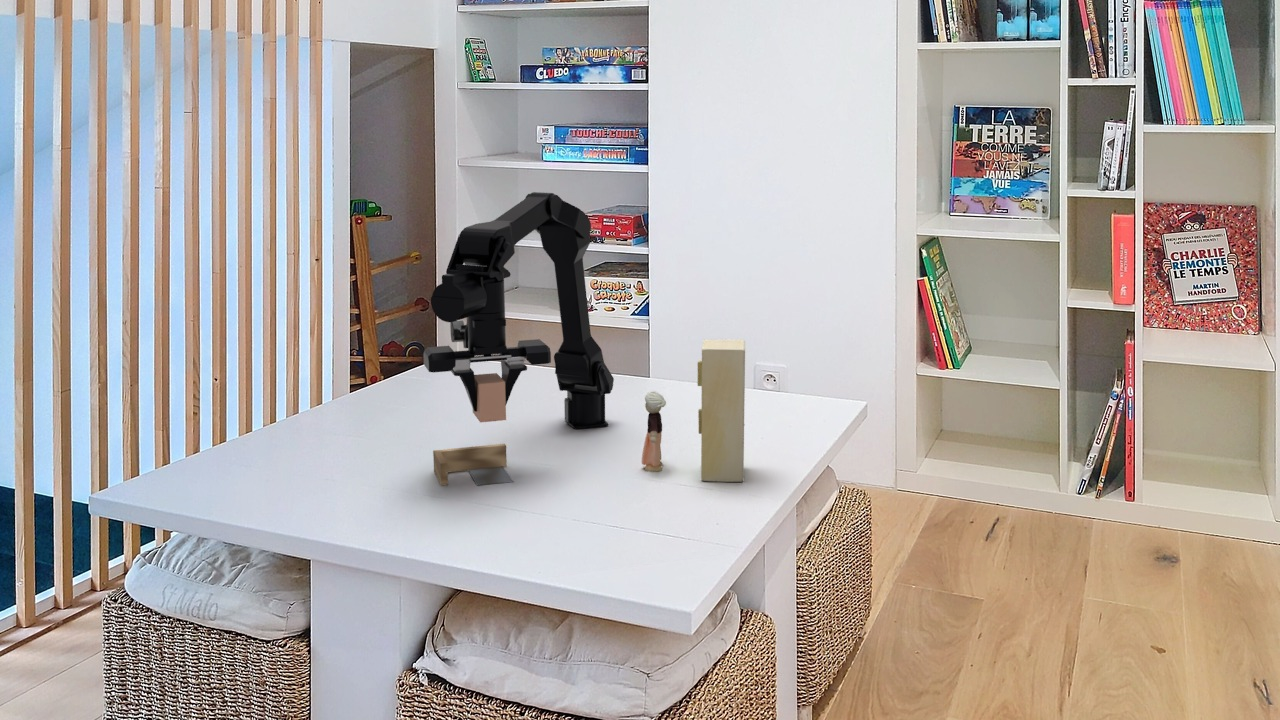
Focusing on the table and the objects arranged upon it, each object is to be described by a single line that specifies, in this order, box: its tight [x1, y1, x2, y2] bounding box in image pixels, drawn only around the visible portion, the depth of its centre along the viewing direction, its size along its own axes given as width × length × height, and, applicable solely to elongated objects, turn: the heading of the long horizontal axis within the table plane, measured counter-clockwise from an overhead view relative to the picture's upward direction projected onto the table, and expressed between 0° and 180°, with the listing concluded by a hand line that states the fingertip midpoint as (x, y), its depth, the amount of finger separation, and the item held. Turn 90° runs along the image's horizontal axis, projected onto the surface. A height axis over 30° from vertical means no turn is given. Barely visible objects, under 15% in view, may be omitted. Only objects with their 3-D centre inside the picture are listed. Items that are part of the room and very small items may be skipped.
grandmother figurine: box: [641, 390, 667, 473], centre depth 186 cm, size 8×4×13 cm, turn 5°
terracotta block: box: [472, 372, 507, 423], centre depth 181 cm, size 6×4×6 cm, turn 19°
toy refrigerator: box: [697, 338, 746, 483], centre depth 183 cm, size 8×7×21 cm
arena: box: [432, 443, 514, 487], centre depth 184 cm, size 12×9×4 cm
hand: (489, 409), depth 182 cm, fingers closed on terracotta block, 4 cm apart
